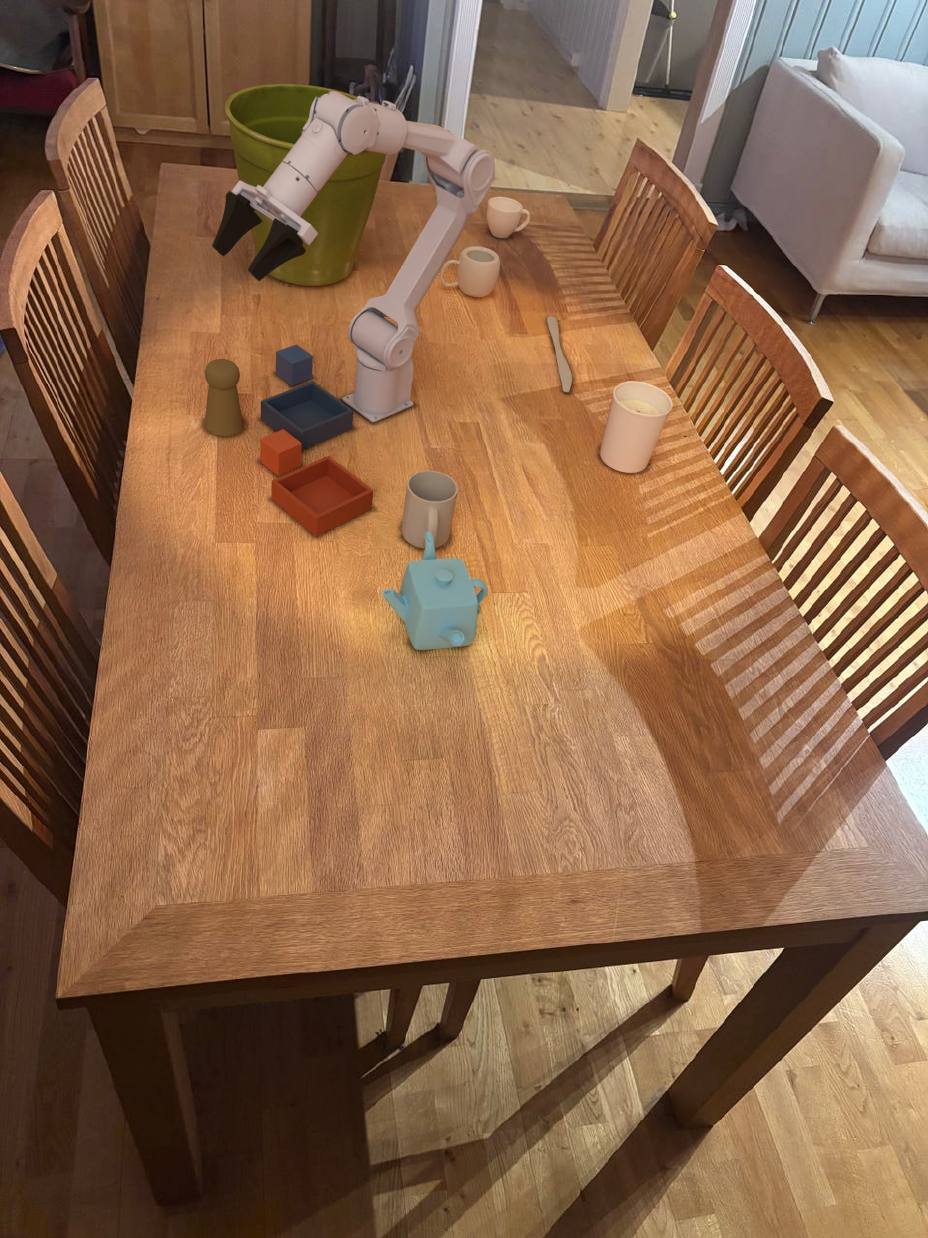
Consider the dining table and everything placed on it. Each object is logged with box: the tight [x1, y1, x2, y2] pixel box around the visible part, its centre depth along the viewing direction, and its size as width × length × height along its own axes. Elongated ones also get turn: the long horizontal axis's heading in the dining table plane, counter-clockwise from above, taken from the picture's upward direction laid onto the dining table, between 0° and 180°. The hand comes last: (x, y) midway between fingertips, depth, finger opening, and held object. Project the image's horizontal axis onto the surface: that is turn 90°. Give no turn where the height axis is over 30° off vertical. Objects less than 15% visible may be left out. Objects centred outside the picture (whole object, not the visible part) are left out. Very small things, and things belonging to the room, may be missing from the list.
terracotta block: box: [259, 429, 302, 477], centre depth 147 cm, size 4×4×4 cm
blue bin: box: [260, 380, 355, 452], centre depth 156 cm, size 11×10×4 cm
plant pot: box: [224, 83, 387, 287], centre depth 184 cm, size 30×30×29 cm
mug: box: [439, 245, 501, 298], centre depth 194 cm, size 12×8×8 cm
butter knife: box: [546, 315, 573, 393], centre depth 184 cm, size 1×27×3 cm
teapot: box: [381, 532, 489, 651], centre depth 126 cm, size 18×14×10 cm
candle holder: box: [599, 380, 674, 474], centre depth 160 cm, size 10×10×12 cm
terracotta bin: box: [271, 455, 374, 537], centre depth 143 cm, size 11×10×4 cm
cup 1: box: [400, 469, 459, 550], centre depth 139 cm, size 7×10×9 cm
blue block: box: [275, 344, 314, 387], centre depth 165 cm, size 4×4×4 cm
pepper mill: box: [203, 358, 244, 437], centre depth 150 cm, size 6×6×11 cm
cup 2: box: [485, 196, 531, 239], centre depth 216 cm, size 8×10×7 cm
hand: (235, 263), depth 125 cm, fingers open, 7 cm apart
